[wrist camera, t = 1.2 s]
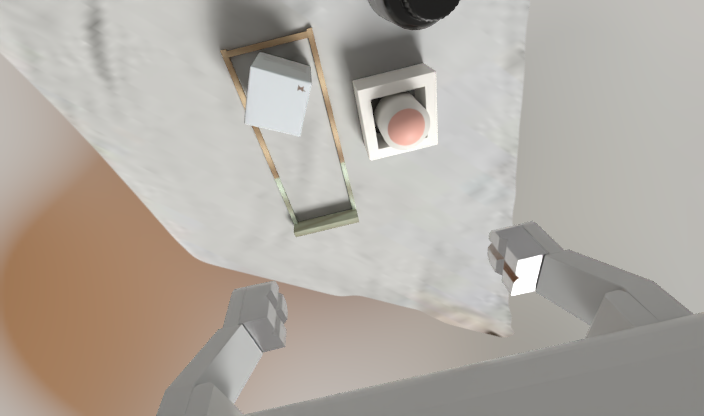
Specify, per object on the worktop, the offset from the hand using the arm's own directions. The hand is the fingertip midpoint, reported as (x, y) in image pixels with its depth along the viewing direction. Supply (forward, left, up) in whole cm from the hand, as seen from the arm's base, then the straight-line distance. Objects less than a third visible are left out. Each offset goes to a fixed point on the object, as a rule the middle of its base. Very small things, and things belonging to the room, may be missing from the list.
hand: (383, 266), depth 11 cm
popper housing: (+6, +7, -31) cm, 33 cm away
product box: (0, -6, -32) cm, 32 cm away
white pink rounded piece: (+6, +7, -29) cm, 30 cm away
